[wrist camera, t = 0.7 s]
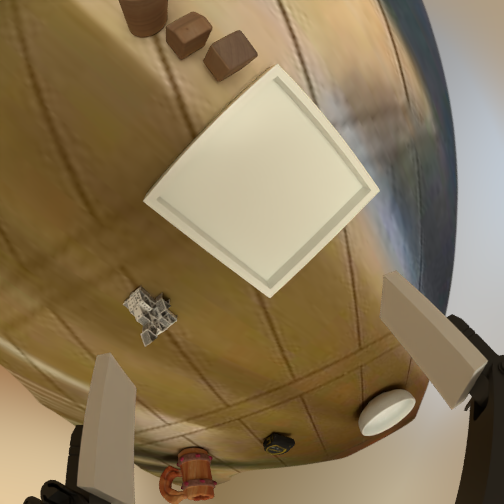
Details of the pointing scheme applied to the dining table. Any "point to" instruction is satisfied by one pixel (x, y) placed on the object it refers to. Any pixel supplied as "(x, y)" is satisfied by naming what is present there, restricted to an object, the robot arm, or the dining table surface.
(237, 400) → the dining table surface
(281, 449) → the tape measure
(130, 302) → the house of cards
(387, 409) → the cereal bowl
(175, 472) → the mug
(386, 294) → the robot arm
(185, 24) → the wooden block set
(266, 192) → the tray
